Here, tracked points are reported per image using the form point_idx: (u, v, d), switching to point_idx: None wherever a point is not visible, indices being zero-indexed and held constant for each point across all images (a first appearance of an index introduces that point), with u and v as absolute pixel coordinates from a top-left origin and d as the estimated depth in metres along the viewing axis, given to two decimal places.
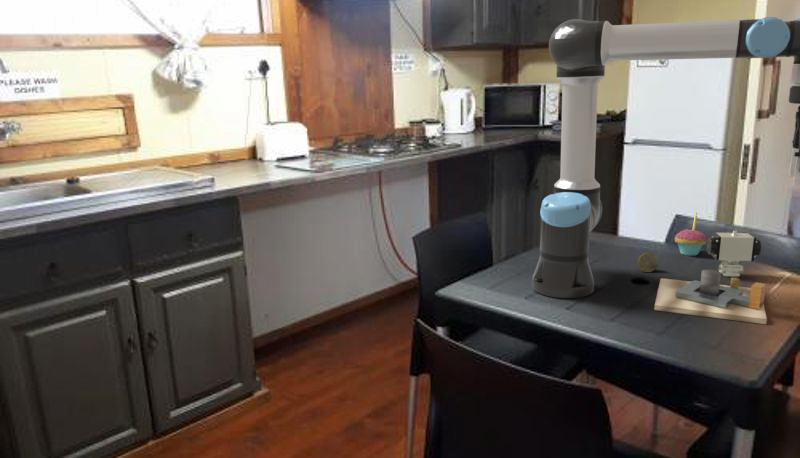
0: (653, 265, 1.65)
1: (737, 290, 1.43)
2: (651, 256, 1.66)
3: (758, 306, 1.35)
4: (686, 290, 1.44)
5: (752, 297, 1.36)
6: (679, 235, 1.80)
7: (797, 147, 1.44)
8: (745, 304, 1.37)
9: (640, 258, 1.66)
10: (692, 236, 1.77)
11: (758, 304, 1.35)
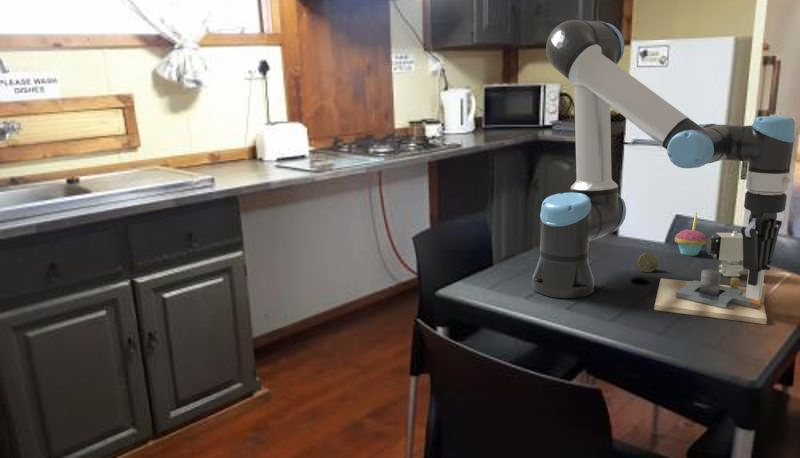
0: (653, 265, 1.65)
1: (737, 290, 1.43)
2: (651, 256, 1.66)
3: (758, 306, 1.35)
4: (686, 290, 1.44)
5: None
6: (679, 235, 1.80)
7: None
8: (745, 304, 1.37)
9: (640, 258, 1.66)
10: (692, 236, 1.77)
11: (758, 304, 1.35)
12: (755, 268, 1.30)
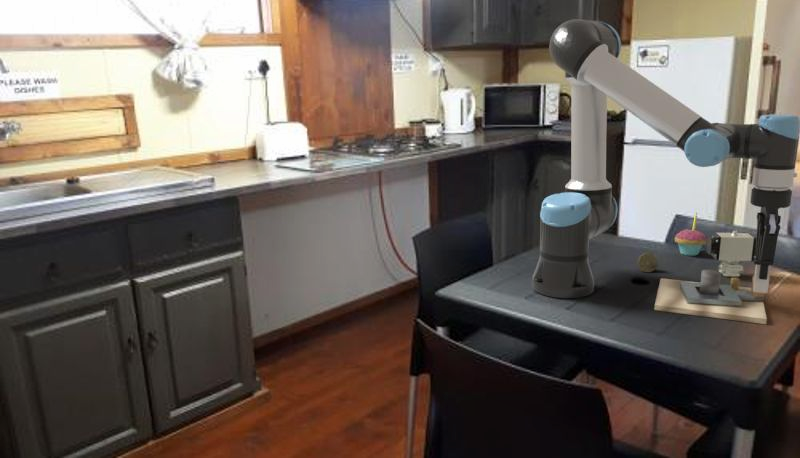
0: (653, 265, 1.65)
1: (726, 285, 1.47)
2: (651, 256, 1.66)
3: (763, 298, 1.39)
4: (692, 294, 1.42)
5: None
6: (679, 235, 1.80)
7: None
8: (750, 298, 1.40)
9: (640, 258, 1.66)
10: (692, 236, 1.77)
11: (763, 296, 1.39)
12: None
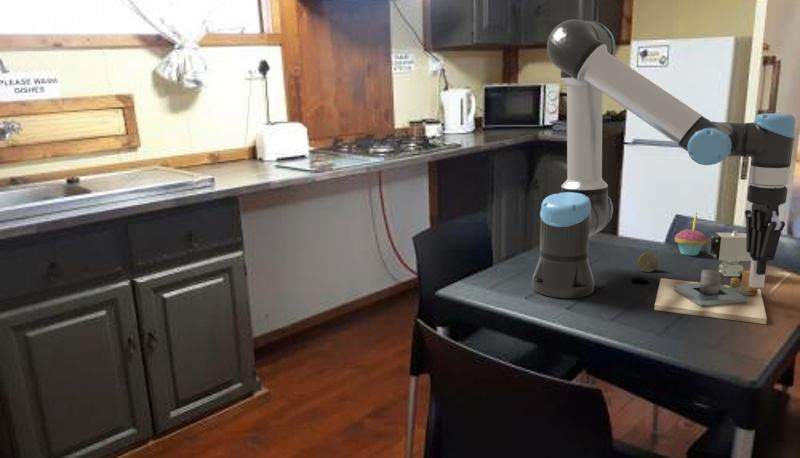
0: (653, 265, 1.65)
1: None
2: (651, 256, 1.66)
3: (756, 292, 1.43)
4: (700, 296, 1.40)
5: None
6: (679, 235, 1.80)
7: (756, 257, 1.41)
8: (746, 293, 1.43)
9: (640, 258, 1.66)
10: (692, 236, 1.77)
11: (756, 290, 1.43)
12: None
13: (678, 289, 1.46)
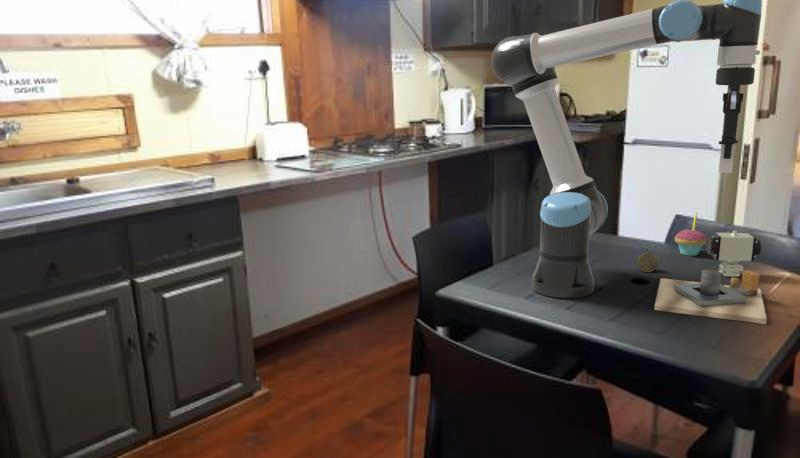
0: (653, 265, 1.65)
1: None
2: (651, 256, 1.66)
3: (756, 292, 1.43)
4: (700, 296, 1.40)
5: (752, 285, 1.43)
6: (679, 235, 1.80)
7: None
8: (746, 293, 1.43)
9: (640, 258, 1.66)
10: (692, 236, 1.77)
11: (756, 290, 1.43)
12: (735, 140, 1.37)
13: (678, 289, 1.46)
